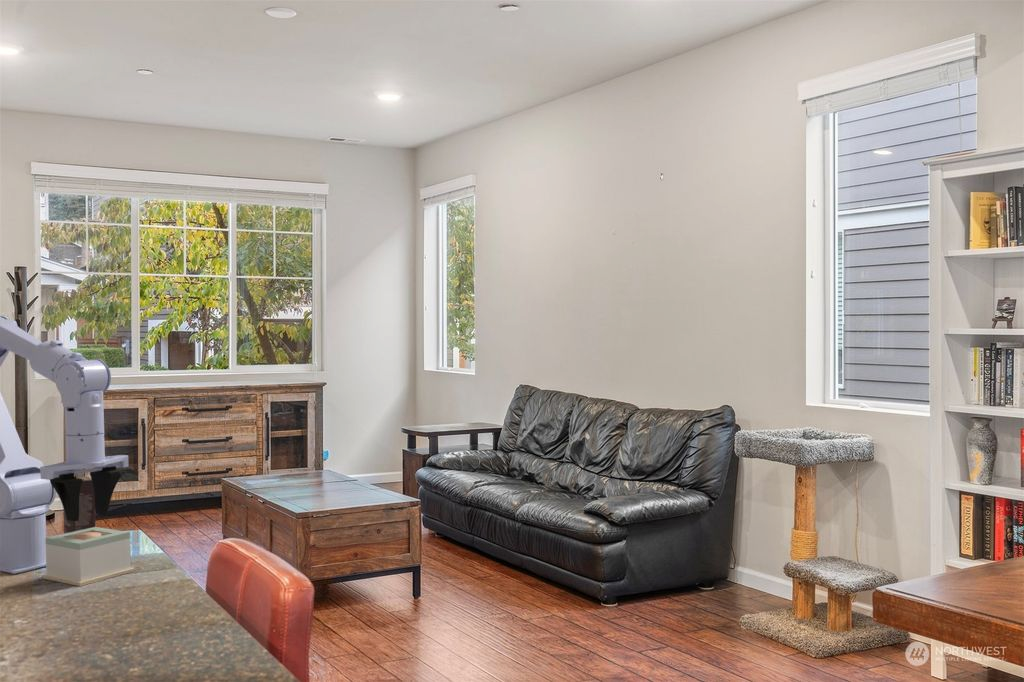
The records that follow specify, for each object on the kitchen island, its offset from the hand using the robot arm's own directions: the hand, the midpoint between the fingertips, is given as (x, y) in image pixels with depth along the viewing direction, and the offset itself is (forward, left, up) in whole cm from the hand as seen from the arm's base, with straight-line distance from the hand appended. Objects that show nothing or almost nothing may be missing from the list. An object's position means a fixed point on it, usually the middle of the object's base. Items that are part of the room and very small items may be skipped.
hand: (87, 517), depth 153 cm
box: (-23, +14, -10) cm, 29 cm away
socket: (0, 0, -9) cm, 9 cm away
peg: (0, 0, -9) cm, 9 cm away
